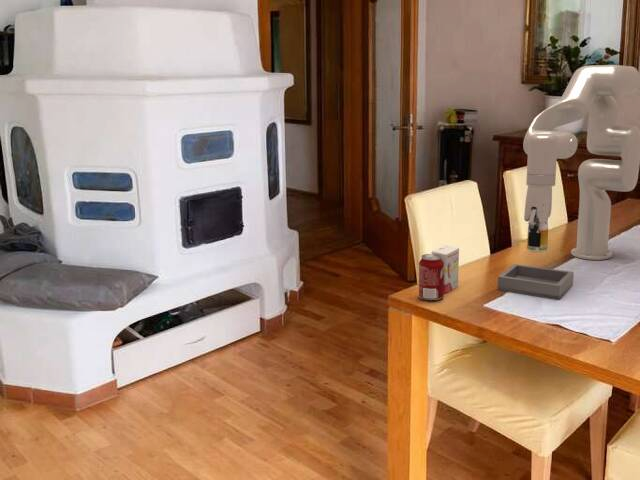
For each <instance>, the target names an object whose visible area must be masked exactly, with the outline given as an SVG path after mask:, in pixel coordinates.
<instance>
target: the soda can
mask: <svg viewBox="0 0 640 480" xmlns="http://www.w3.org/2000/svg"><path fill="white" fill-rule="evenodd" d="M418 297H419V298H421V299H422V300H424V299H425V300H424V301H426V300H437V301H440V300H441V299H443V298H444V297H445V295H444V262H443V260H442V256H441V255H438V254H432V253H425V254H422V255H421V259H420V260H419V261H418ZM439 299H440V300H439Z"/></svg>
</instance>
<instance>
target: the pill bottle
mask: <svg viewBox="0 0 640 480" xmlns="http://www.w3.org/2000/svg"><path fill="white" fill-rule="evenodd" d="M535 221H538V220H537V219H535ZM538 222H539V221H538ZM545 222H546V220H545V221H543V222H541V226H540V233H541V241H540V247H532V246H528V238H527V240H526V249H527V251H529V252H532V253H544V252H545V253H546V252H547V251H548V239H549V224H548V225H547V224H545ZM535 225H536V226H538V224H535ZM528 236H529V225H527V237H528Z"/></svg>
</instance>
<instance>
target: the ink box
mask: <svg viewBox="0 0 640 480" xmlns="http://www.w3.org/2000/svg"><path fill="white" fill-rule="evenodd" d="M430 254H438V255H441V256H442V260H443V262H444V294H445V295H447V294H448V293H450V292H451V291H452V290H454V289H456V288H457V287H459V271H460V270H459V268H460V267H459V265H460V264H459V261H460V248H459V247H456V246H451V245H446V244H445V245H442V246H440V247H437V248H436V249H435V248H434V249H433V250H431V253H430Z"/></svg>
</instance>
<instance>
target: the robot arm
mask: <svg viewBox="0 0 640 480" xmlns="http://www.w3.org/2000/svg"><path fill="white" fill-rule="evenodd" d="M639 86H640V73H639V71H638V69H637V68H636V67H634V66H631V65H630V66H629V65H621V64H619V65H618V64H617V65H616V64H607V65H606V64H603V65H597V64H596V65H584V66H581V67H579V68H577V69H576V70H575V71H574V72H573V74H572V76H571V77H570V80H569V82H568V84H567V86H566V88H565V91H564V92H563V94H562V95H561V97H560V100H558V101H557V102H555V103H554V104H552V105H550V106H549V107H547V108H546V109H544V110H543V111H541V112H540V113H538V115H536V116H535V117H534V119H533V120H532V121H531V124H529V127H528V129H527V131H526V133H525V134H524V135H525V136H524V138H523V143H522V144H523V145H522V147H523V151H524V153H525V154H526V155H527V164H526V180H525V181H526V182H525V183H526V186H527V191H526V195H525V205H524V213H523V215H524V217H523V220H524V222H527V224H528V225H529V236H528V235H527V239H528V246H532V247H540V241H541V233H540V226H541V222H543V221H545V220H546V222H545V224H547V225H548V226H549V224H548V223H549V221H548V220H549V218H550V217H551V216H552V205H553V188H552V187H554V186H556V179H557V177H556V175H557V162H558V161H557V159H560V160H561V159H562V160H565V159H569V158H571V157H573V156H574V155H575V153H576V152H577V150H578V147H579V145H578V143H579V142H578V139H577V137H576V135H575V134H574V133H572V132H570V131H567V130H566V131H563V130H553V129H555V128H559V127H562V126H564V125H568V124H572V123H574V122H577V121H579V120H582V119H584V118H585V117H586V116H587V115H589V116H588V125H587V132H586V133H587V134H586V149H587V151H588V152H589V153H590V154H594V155H599V156H600V155H601V156H611V157H612V156H614V157H620V158H621V160H618V159H617V160H616V159H615V160H614V159H607V158H605V159H603V158H590V159H589V158H588V159H587V160H584V161H582V163H581V164H580V165H579V166H578V172H577V177H578V178H577V179H578V185H579V203H578V204H579V206H578V217H577V219H578V220H577V235H576V247H574V248H572V249H571V250H570V254H571V255H572V256H573V257H576V258H578V259H582V260H583V259H584V260H590V261H591V260H594V261H601V260H608V259H611V258H612V257H613V252H612V250H610V249H609V235H610V225H611V224H610V223H611V213H612V211H611V210H612V201H611V198H610V196H609V195H608V193H607V192H606V191H614V192H631V191H633V190H634V189H635V187H636V186H637V183H638V179H639V172H640V129H639V127H637V126H636V125H630V124H619V116H620V115H619V114H620V107H619V104H618V103H617V101H616V99H615V98H614V96H616V97H617V96H618V97H620V96H621V97H625V96H628V97H630V96H632V95H633V94H635V92H636V91H637V90H638V88H639ZM535 219H537V220H538V221H539V222H538V221H535ZM535 224H538V226H536V225H535ZM528 225H527V226H528Z"/></svg>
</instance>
